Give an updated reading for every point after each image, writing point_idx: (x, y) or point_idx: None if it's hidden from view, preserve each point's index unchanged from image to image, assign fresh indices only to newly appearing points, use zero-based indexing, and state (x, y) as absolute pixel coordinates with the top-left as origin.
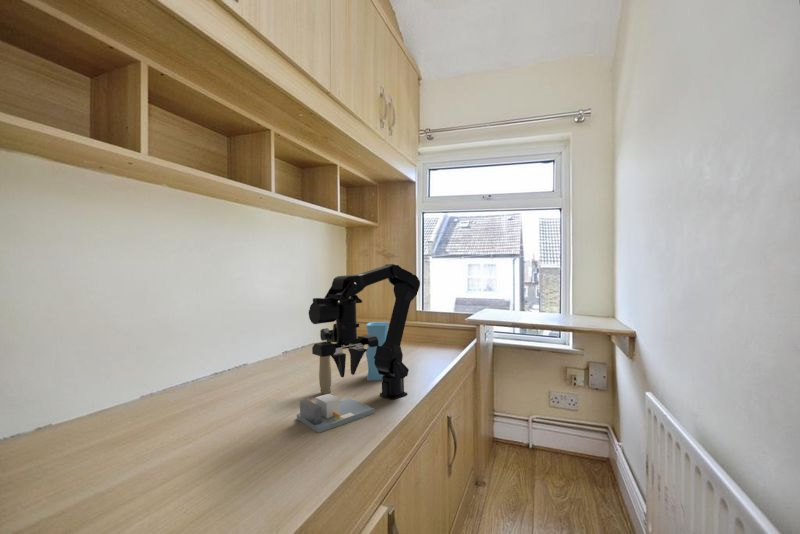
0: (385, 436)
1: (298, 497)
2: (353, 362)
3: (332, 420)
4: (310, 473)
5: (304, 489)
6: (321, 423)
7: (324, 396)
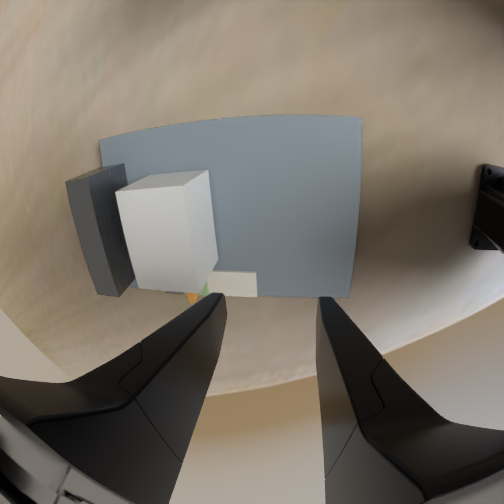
0: (264, 387)
1: None
2: (327, 404)
3: None
4: None
5: None
6: None
7: (150, 212)
